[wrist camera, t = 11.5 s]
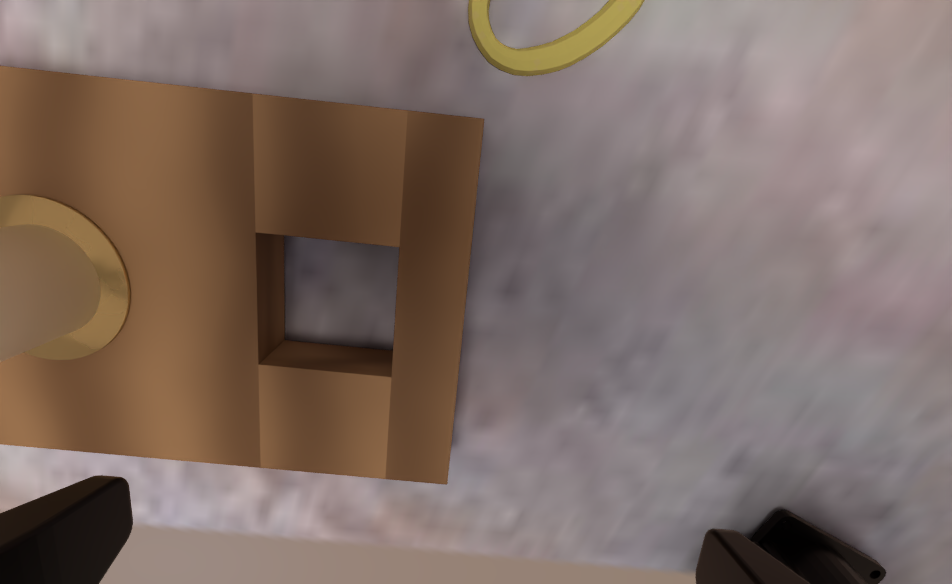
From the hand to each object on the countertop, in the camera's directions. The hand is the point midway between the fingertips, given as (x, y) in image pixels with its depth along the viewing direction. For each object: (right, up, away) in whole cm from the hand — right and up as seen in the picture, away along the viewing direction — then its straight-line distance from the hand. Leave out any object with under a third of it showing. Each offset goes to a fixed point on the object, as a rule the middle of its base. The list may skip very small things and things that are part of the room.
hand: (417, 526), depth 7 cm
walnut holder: (-10, +4, +12) cm, 16 cm away
